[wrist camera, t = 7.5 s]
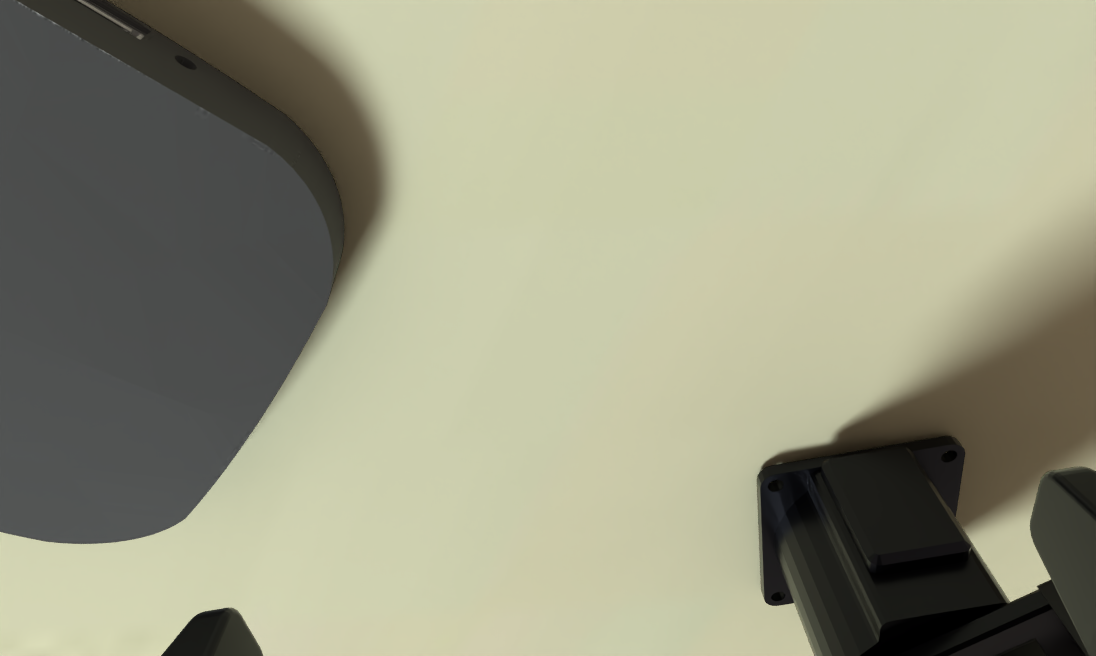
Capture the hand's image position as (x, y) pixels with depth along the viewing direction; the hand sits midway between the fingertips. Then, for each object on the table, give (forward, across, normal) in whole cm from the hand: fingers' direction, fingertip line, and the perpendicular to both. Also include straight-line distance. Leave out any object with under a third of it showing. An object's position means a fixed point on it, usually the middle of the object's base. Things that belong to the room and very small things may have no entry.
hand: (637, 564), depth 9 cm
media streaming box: (+14, +14, 0) cm, 20 cm away
